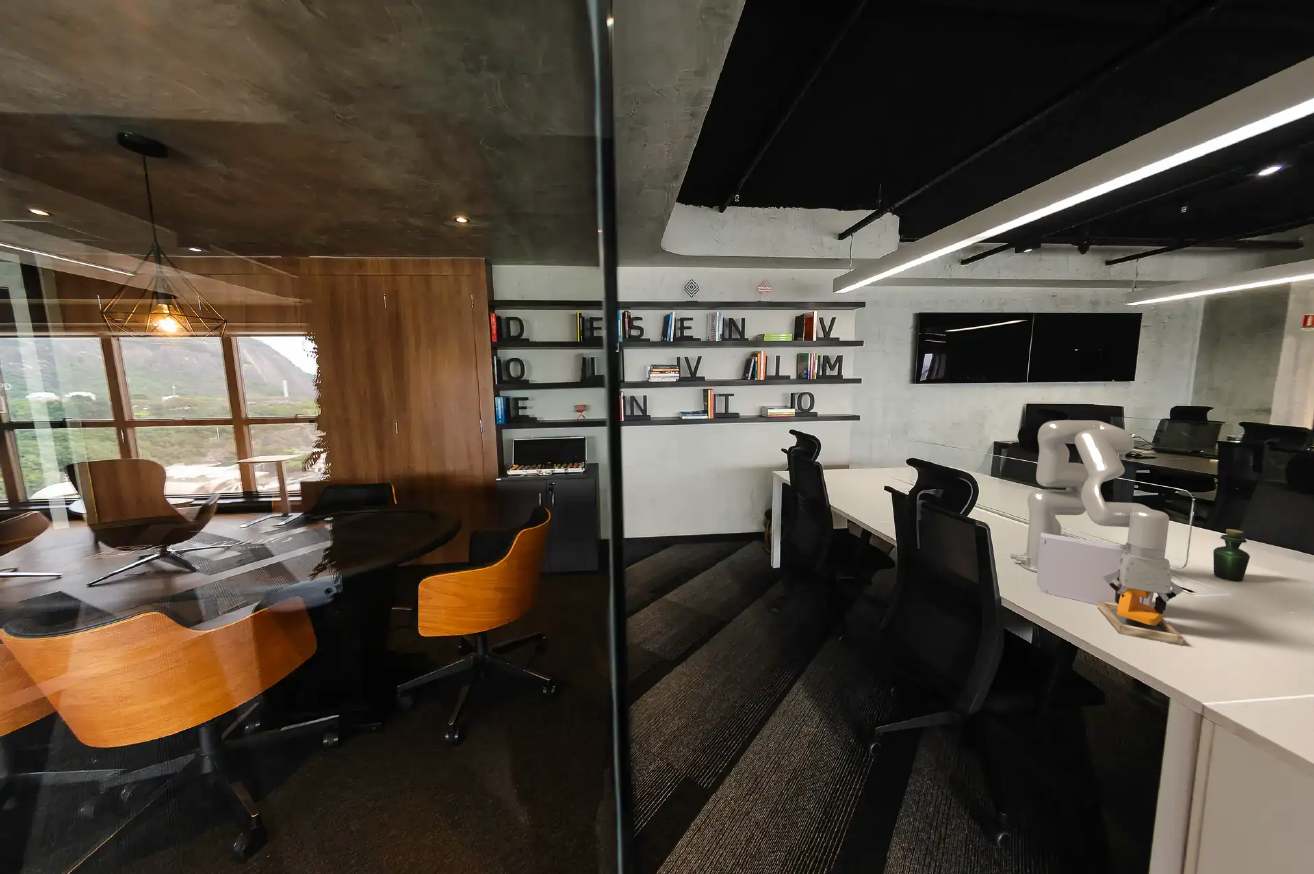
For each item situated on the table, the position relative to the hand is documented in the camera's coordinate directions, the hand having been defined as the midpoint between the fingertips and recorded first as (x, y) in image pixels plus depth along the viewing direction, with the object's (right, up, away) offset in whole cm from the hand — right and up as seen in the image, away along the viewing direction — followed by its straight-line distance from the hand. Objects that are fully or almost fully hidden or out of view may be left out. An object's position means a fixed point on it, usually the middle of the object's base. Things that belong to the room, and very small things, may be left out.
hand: (1139, 608), depth 129 cm
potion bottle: (+67, -1, +31) cm, 74 cm away
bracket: (+1, -3, 0) cm, 3 cm away
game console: (+1, -4, +16) cm, 17 cm away
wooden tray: (0, -5, +1) cm, 6 cm away
